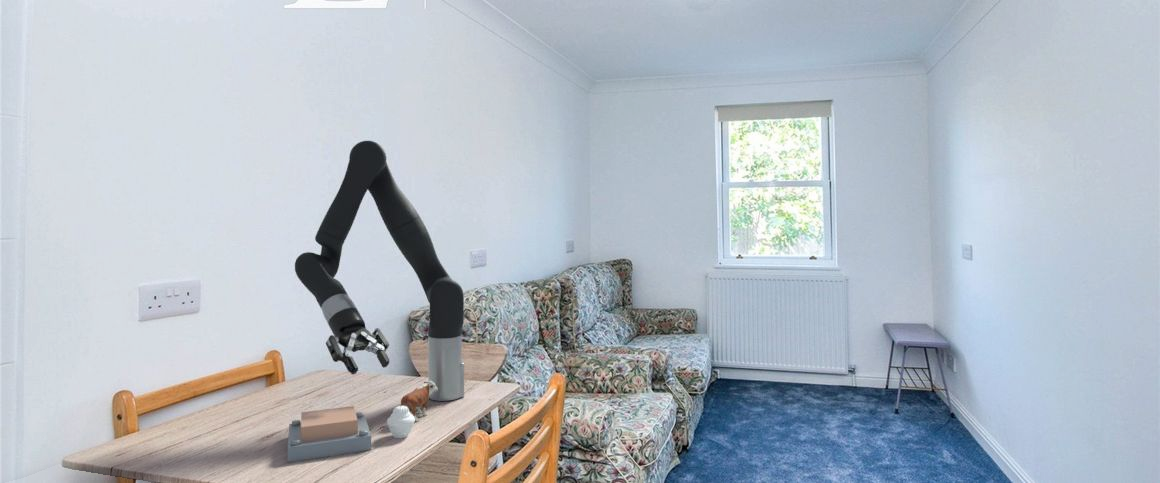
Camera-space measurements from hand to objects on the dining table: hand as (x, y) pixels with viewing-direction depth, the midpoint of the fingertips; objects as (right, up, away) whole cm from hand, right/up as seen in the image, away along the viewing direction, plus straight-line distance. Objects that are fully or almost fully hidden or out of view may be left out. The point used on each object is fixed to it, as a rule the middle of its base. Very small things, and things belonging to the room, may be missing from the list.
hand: (371, 368), depth 140 cm
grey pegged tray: (-6, -14, -10) cm, 18 cm away
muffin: (+9, -14, -6) cm, 18 cm away
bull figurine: (+9, -14, +8) cm, 18 cm away
